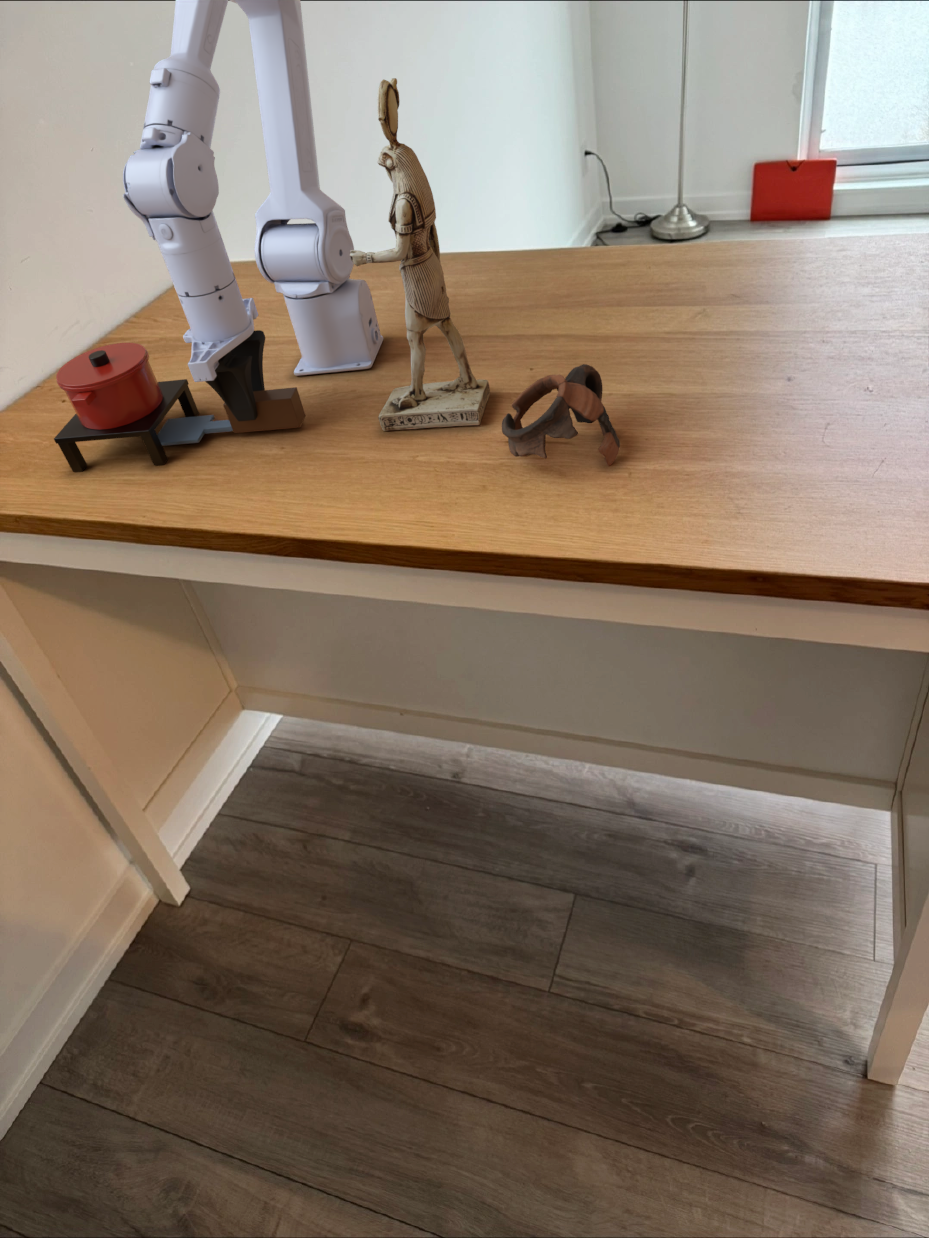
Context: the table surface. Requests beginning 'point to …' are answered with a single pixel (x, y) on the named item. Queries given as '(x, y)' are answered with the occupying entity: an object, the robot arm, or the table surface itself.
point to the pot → (117, 400)
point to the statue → (420, 290)
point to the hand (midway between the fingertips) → (251, 411)
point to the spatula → (271, 414)
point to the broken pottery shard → (561, 413)
